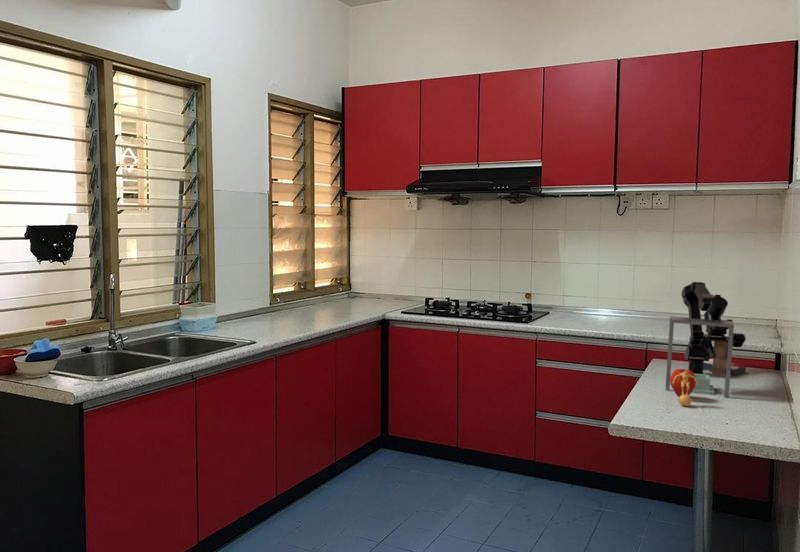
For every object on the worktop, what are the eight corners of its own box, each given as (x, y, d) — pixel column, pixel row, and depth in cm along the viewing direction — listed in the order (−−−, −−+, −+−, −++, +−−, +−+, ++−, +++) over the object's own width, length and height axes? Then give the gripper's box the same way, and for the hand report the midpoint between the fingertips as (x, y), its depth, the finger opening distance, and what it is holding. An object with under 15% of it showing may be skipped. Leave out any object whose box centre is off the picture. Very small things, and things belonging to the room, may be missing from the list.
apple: (667, 398, 230) (669, 369, 229) (670, 393, 237) (671, 365, 237) (694, 402, 226) (696, 372, 225) (695, 397, 234) (697, 368, 233)
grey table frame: (666, 385, 250) (670, 316, 247) (727, 392, 241) (732, 321, 239) (665, 390, 242) (669, 319, 240) (728, 398, 233) (733, 324, 231)
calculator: (734, 368, 269) (699, 359, 280) (733, 378, 269) (698, 369, 281) (746, 365, 275) (712, 357, 287) (745, 375, 276) (711, 366, 288)
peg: (713, 372, 244) (715, 339, 243) (726, 374, 241) (728, 341, 240) (710, 374, 241) (713, 341, 240) (723, 376, 238) (725, 343, 237)
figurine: (672, 406, 221) (674, 372, 220) (670, 401, 226) (672, 368, 225) (698, 408, 218) (700, 374, 217) (696, 404, 224) (698, 370, 223)
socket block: (679, 383, 253) (680, 371, 253) (712, 387, 248) (713, 374, 248) (678, 390, 242) (679, 377, 242) (714, 394, 237) (715, 381, 237)
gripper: (693, 310, 244) (699, 344, 235) (745, 312, 241) (754, 347, 231) (686, 327, 253) (692, 360, 243) (737, 329, 250) (745, 363, 240)
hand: (720, 357), depth 239 cm, fingers closed on peg, 4 cm apart
